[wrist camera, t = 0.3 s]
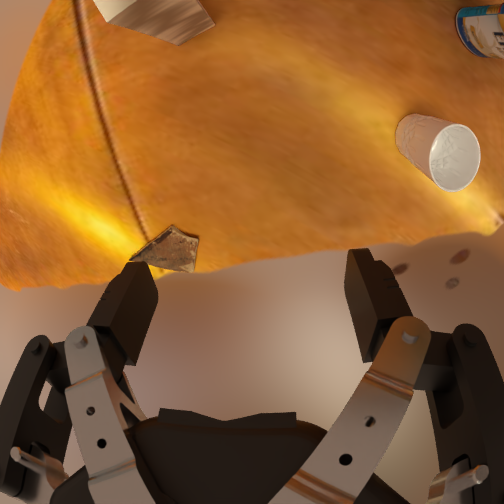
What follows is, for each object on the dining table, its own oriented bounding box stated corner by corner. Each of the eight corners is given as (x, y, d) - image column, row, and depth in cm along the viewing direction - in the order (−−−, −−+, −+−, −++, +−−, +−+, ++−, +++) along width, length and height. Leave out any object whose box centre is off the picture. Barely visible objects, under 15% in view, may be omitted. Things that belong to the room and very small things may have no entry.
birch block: (196, -4, 22) (143, -63, 7) (215, 25, 25) (174, -23, 10) (160, 17, 24) (81, -19, 9) (178, 45, 26) (107, 22, 11)
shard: (131, 255, 44) (127, 261, 42) (131, 214, 40) (127, 220, 38) (195, 269, 45) (193, 276, 44) (201, 228, 41) (199, 234, 39)
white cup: (411, 174, 35) (448, 205, 26) (379, 134, 32) (416, 155, 24) (445, 140, 31) (488, 163, 23) (416, 97, 28) (461, 109, 20)
